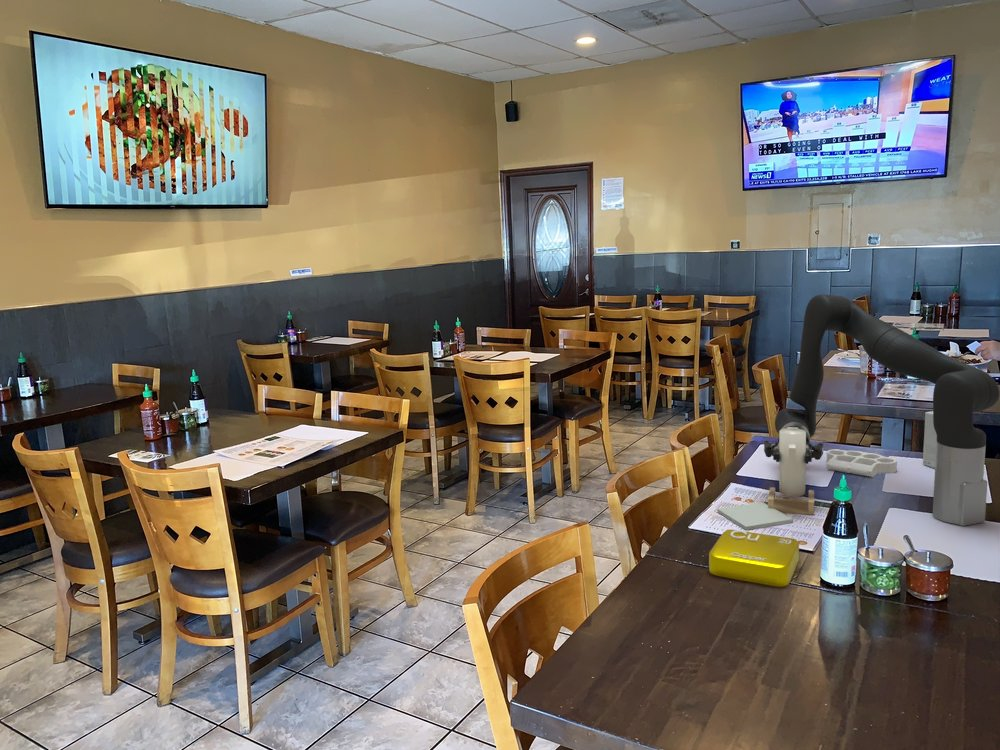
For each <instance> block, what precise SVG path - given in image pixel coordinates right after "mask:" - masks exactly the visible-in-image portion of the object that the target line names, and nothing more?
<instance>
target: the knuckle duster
mask: <svg viewBox="0 0 1000 750" xmlns="http://www.w3.org/2000/svg"><path fill="white" fill-rule="evenodd" d="M825 467H826V469H827V470H829V471H834V472H835V471H836V472H841V473H848V474H850V473H852V474H853V475H857V476H862V477H863V476H864V477H868V476H869V478H874V477H876V475H879V474H887V475H889V474H890V473H891V474H895V473H897V472H896V471H897V470H898V460H897V459H896V458H894V457H888V456H883V455H880V454H877V453H873V452H865V451H861V450H844V449H837V448H834V449H828V450H827V451H826V465H825ZM852 474H851V475H852Z"/></svg>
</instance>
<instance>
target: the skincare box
mask: <svg viewBox="0 0 1000 750" xmlns="http://www.w3.org/2000/svg"><path fill="white" fill-rule="evenodd" d="M924 413H925V414H924V416H925V417H924V432H923V433H924V436H923V455H922V465H923V466H926V467H927V466H928V467H930V468H932V469H935V459H936V442H937V435H936V432H935V429H934V425H933V410H932V411H926V412H924Z"/></svg>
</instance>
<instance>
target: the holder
mask: <svg viewBox="0 0 1000 750" xmlns="http://www.w3.org/2000/svg"><path fill="white" fill-rule="evenodd" d="M768 492H769V493H768V498H767V505H768V508H774V509H776V510H778V511H779V512H781V513H784V514H785V513H786V514H787V513H788V514H797V515H798V514H799V515H808V514H813V515H814V514H815V490H813V489H809V490H808V499H796V498H795V499H794V498H784V497H783V498H781V497H776V487H771V486H770V487H769V491H768ZM813 515H812V516H813Z"/></svg>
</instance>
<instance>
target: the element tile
mask: <svg viewBox="0 0 1000 750" xmlns="http://www.w3.org/2000/svg"><path fill="white" fill-rule="evenodd" d="M799 557H800V543H799V541H798V540H797V539H795V538H792V537H785V536H779V535H772V534H771V535H770V534H765V533H757V532H752V531H751V532H750V531H746V530H745V531H744V530H737V529H726V530H725V531H723V532H722V533H721V535H720V536H719V537H718V539H717V541H716V542H715V544H714V545H713V547H712V548H711V550H709V554H708V569H709V570H708V572H709V573H710V574H711V575H714V576H717V577H721V578H728V579H732V580H738V581H744V582H745V581H746V582H751V583H754V584H760V585H766V586H772V587H781V588H782V587H783V588H784V587H787V586H788V585H789V584H790V582H791V580H792V578H793V576H794V573H795V571H796V568H797V566H798V564H799V561H800V558H799Z"/></svg>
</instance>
